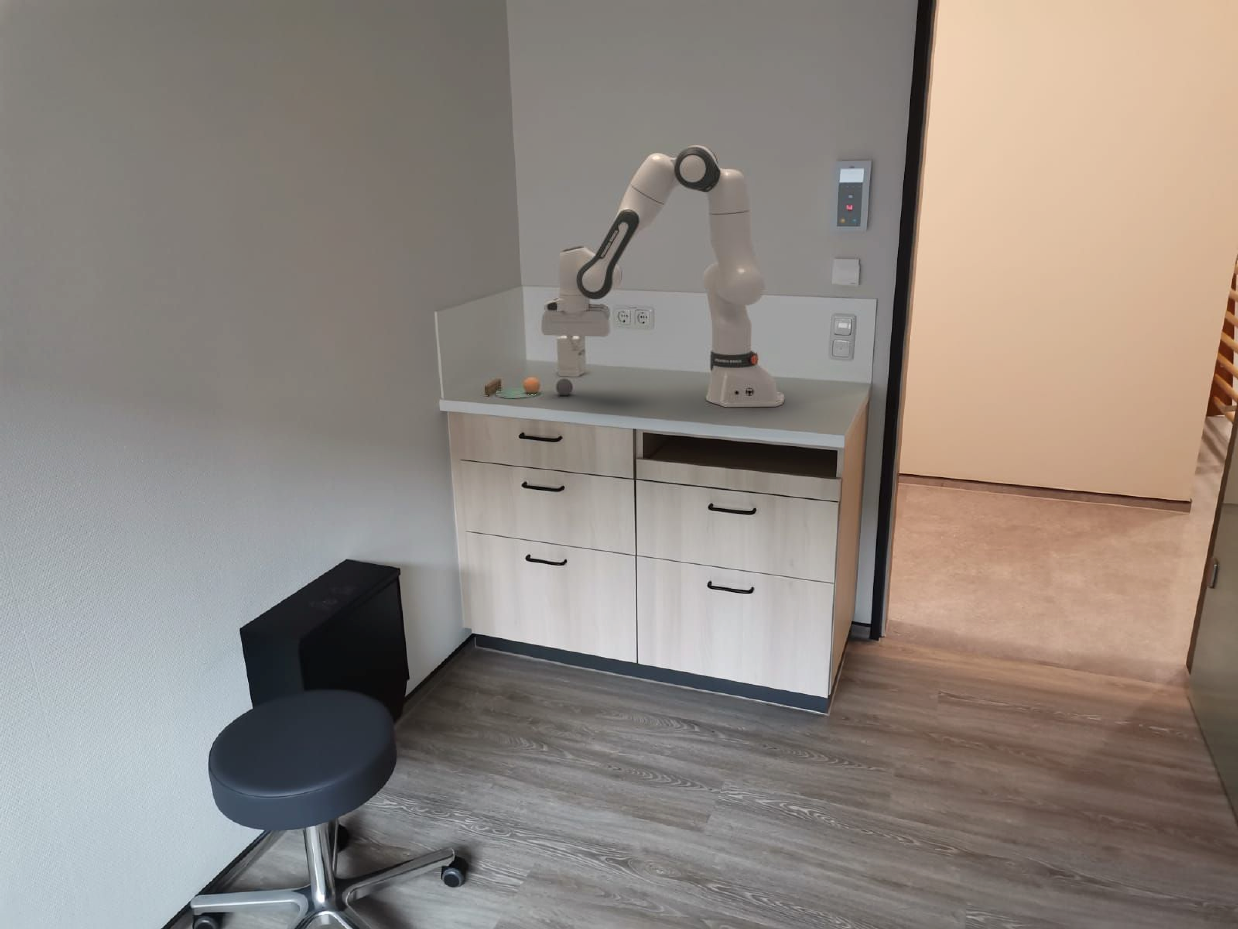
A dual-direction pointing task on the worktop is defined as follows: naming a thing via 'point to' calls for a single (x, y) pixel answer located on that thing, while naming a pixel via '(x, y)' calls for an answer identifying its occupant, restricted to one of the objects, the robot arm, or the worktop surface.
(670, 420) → the worktop surface
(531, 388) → the object ball
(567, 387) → the dark gray ball
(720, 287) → the robot arm
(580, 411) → the worktop surface
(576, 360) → the supplement box
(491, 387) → the stopper bar
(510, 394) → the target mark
